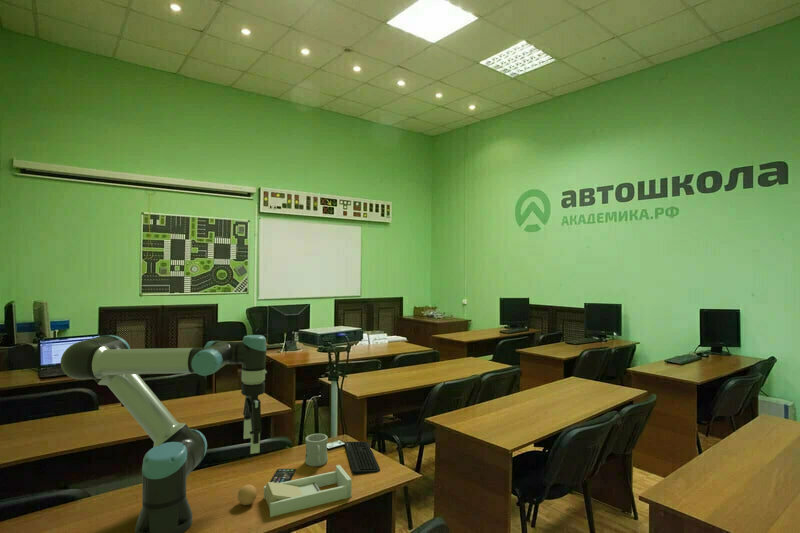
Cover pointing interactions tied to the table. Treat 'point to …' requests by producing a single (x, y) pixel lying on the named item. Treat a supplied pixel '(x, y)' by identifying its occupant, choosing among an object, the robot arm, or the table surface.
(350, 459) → the keyboard
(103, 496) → the table surface
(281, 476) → the smartphone
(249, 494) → the ball
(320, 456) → the mug
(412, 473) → the table surface
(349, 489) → the lane
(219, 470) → the table surface
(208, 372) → the robot arm
